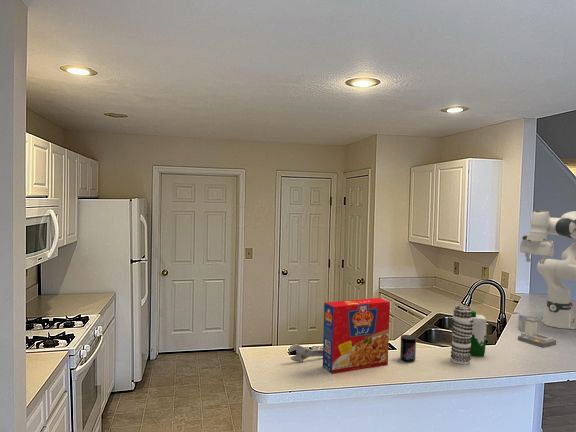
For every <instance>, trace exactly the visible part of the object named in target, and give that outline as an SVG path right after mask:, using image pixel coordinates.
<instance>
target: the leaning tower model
mask: <svg viewBox="0 0 576 432" xmlns="http://www.w3.org/2000/svg"><path fill="white" fill-rule="evenodd" d="M472 311H473V310H472V309H471V307H470V306H469V305H464V304H457V305H456V306H455V307H453V315H452V317H451V335H452V340H451V345H450V346H451V348H450V349H451V351H450V361H451V362H454V363H456V364H460V365H470V364H471V362H472V361H471V360H472V356H471V354H470V352H471V350H470V349H471V342H470V341H471V339H470V338H471V337H472V335H471V334H472V332H471V330H473V329H472V328H471V327H472V326H473V325H472V324H471V322H473V320H472V317H471V315H472Z"/></svg>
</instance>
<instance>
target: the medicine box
mask: <svg viewBox="0 0 576 432" xmlns="http://www.w3.org/2000/svg"><path fill="white" fill-rule="evenodd" d="M527 318H532V319H536V320H538V318H537V316H535V315H533V314H519V315H518V327H517V328H518V330H519V331H520V332H525V323H526V320H525V319H527Z"/></svg>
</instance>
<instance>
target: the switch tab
mask: <svg viewBox="0 0 576 432" xmlns="http://www.w3.org/2000/svg"><path fill="white" fill-rule="evenodd" d="M525 320H526V323H525V331H524V332H525V333H526V334H529V335H533V336H536V337H537V334H538V322H539V319H537V320H536V319H532V318H527V319H525Z"/></svg>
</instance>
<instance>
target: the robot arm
mask: <svg viewBox="0 0 576 432" xmlns="http://www.w3.org/2000/svg"><path fill="white" fill-rule="evenodd" d="M549 235H555V236H563V237H566V238H568V239H571V240H573V239H574V240H576V210H573V211H568V212H566V213H563V214H562V215H561V217H551V215H550V211H549V210H546V209H545V210H544V209H541V210H540V209H537V210H534V211H533V213H532V215H531V219H530V230H529V233H528V234H526V235H522V236H521V241H520V245H519V251H520V253H522V254H524V257H525V262H528V263H529V262H531V258H530V255H535V256H541V259H540V260H539V261H538V262H537V265H536V269H537V271H538V273H539V274H540V275H541V276H542V277H543V279H544V281H545V282H546V285H547V300H546V307H545V308H544V311H543V317H542V318H543V319H541V320H540V322H542V323H543V325H546V326H548V327H553V328H558V329H568V330H576V313H575V312H574V311H573V310H572V307H573V306H574V303H573V302H570V301H571V290H570V288H569V287H568V286H567V285H565V284H564V282H563V281H562V280H565V281H566V280H567V281H573V282H574V281H576V241H575V242H572V244H570V245H569V246H568V247H567V248H566V249H565V250H564V251H563V252H562V253H561V259H555V258H552V257H554V254H555V253H554V252H555V248H554V247H555V245H554V244H555V243H554V241H553V240H552V239H548V236H549ZM548 257H550V258H548Z"/></svg>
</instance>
